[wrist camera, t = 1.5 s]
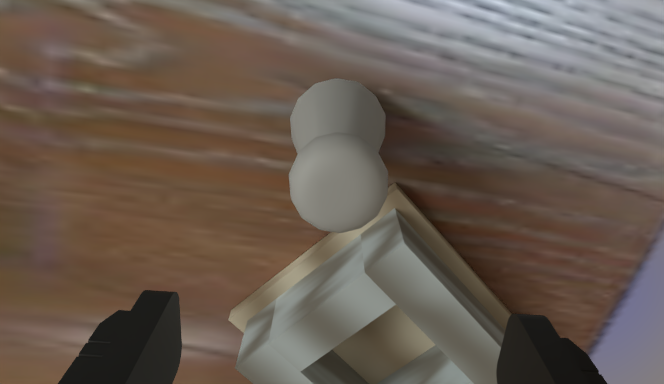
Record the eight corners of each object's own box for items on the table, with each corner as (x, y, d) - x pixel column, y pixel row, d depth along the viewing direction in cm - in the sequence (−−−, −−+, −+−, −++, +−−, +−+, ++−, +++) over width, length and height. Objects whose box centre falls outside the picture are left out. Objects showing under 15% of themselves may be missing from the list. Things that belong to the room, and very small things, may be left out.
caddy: (395, 182, 34) (407, 221, 28) (523, 326, 39) (556, 385, 33) (231, 310, 38) (213, 367, 32) (364, 427, 43) (369, 495, 37)
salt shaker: (343, 52, 31) (349, 94, 19) (400, 121, 32) (439, 200, 20) (274, 113, 32) (239, 187, 20) (332, 176, 34) (331, 279, 22)
